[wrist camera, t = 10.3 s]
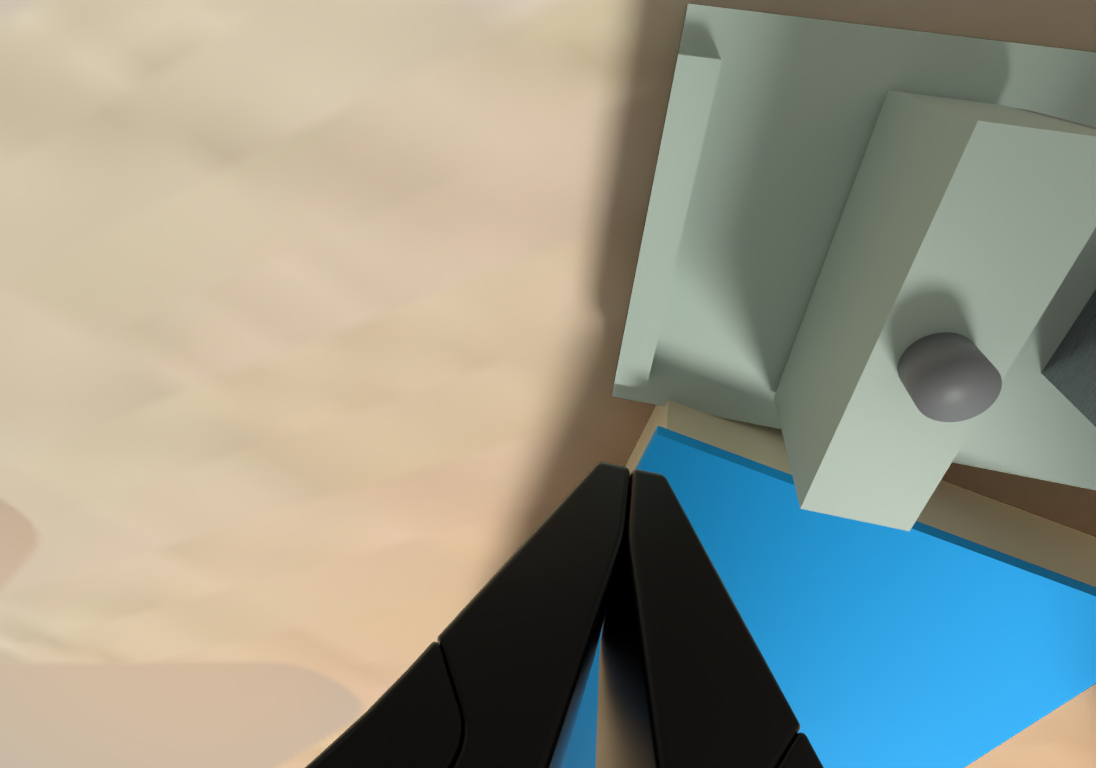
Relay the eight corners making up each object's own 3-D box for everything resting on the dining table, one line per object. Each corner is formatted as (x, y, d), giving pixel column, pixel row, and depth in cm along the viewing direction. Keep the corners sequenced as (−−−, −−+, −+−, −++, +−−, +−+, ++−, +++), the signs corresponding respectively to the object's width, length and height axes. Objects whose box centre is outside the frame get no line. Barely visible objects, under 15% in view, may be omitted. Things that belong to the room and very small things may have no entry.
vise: (1633, 118, 13) (2218, 177, 8) (1249, 499, 18) (1446, 666, 14) (687, 4, 15) (689, -4, 10) (615, 377, 21) (594, 485, 16)
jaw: (1017, 106, 13) (1216, 158, 8) (867, 414, 18) (938, 566, 13) (888, 90, 14) (1006, 130, 9) (773, 397, 18) (807, 539, 13)
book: (472, 785, 31) (646, 438, 17) (494, 705, 35) (654, 364, 21) (780, 900, 31) (1213, 642, 17) (771, 807, 34) (1122, 532, 20)
